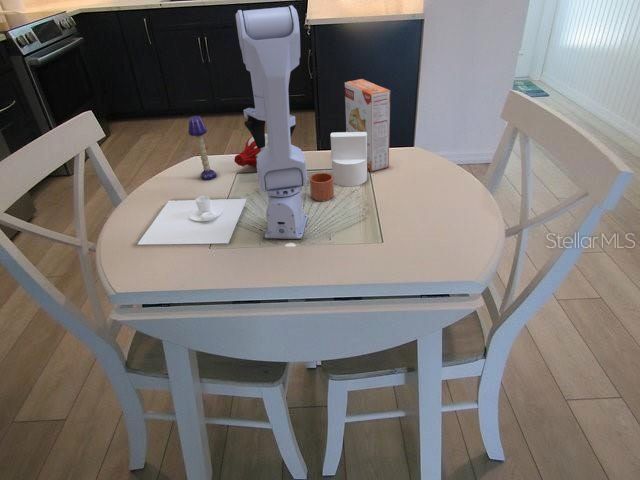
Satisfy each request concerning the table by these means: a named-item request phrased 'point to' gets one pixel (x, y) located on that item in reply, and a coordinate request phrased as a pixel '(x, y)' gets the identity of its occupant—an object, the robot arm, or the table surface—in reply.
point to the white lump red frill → (250, 153)
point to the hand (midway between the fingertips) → (272, 150)
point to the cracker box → (369, 119)
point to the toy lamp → (201, 145)
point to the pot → (321, 186)
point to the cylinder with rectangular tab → (349, 158)
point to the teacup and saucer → (195, 222)
